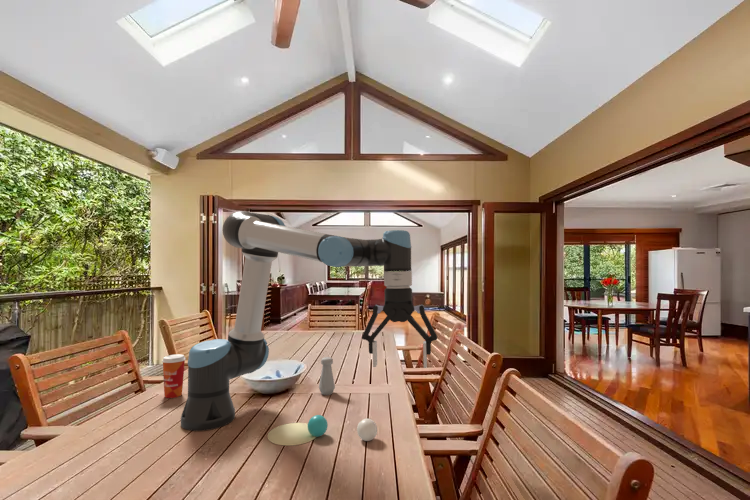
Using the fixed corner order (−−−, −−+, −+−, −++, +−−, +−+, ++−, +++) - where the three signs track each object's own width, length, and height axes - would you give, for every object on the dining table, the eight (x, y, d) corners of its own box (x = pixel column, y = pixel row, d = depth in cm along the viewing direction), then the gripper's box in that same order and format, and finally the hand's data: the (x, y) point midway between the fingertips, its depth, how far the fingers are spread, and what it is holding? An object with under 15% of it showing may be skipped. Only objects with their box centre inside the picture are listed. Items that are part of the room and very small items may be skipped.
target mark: (258, 443, 102) (258, 442, 102) (280, 421, 116) (280, 421, 116) (308, 447, 100) (308, 446, 100) (325, 425, 113) (325, 424, 113)
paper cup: (156, 397, 137) (156, 357, 138) (174, 390, 144) (175, 353, 145) (172, 400, 134) (172, 359, 135) (190, 393, 141) (190, 355, 142)
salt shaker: (331, 396, 138) (332, 360, 138) (316, 395, 139) (316, 359, 140) (336, 391, 144) (336, 356, 144) (322, 390, 145) (322, 355, 145)
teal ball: (304, 439, 104) (304, 418, 104) (311, 430, 110) (311, 411, 110) (324, 441, 103) (324, 420, 104) (330, 432, 109) (330, 412, 109)
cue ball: (354, 443, 102) (354, 422, 102) (359, 434, 107) (359, 414, 107) (375, 445, 101) (375, 424, 101) (378, 436, 106) (378, 416, 106)
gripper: (350, 288, 103) (351, 368, 102) (444, 287, 99) (447, 370, 98) (356, 287, 110) (357, 361, 109) (444, 285, 106) (446, 363, 106)
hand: (400, 366), depth 104 cm, fingers open, 13 cm apart
